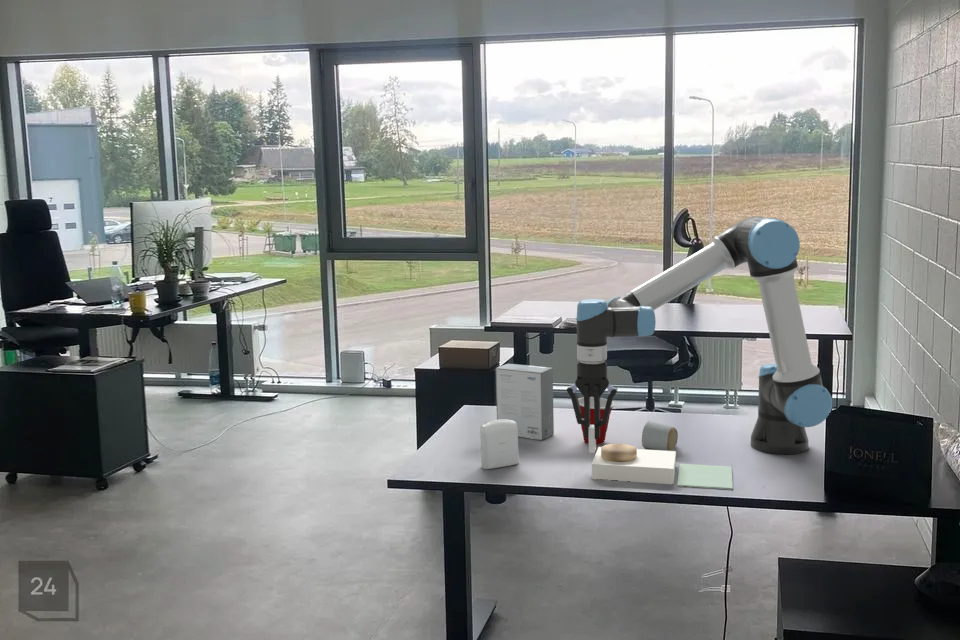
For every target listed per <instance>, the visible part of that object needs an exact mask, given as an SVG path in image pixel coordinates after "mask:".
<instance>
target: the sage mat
mask: <svg viewBox="0 0 960 640" xmlns="http://www.w3.org/2000/svg"><path fill="white" fill-rule="evenodd" d="M678 467H679V468H678V477H677V485H676V486H677V487H683V486H687V487H688V488H698V489H699V488H701V489H703V488H704V489H717V490H729V491H730V490H733V489H734V487H733V485H734V483H733V468H732V466H731V465H729V466H728V465H711V464H710V465H709V464H693V463H679V466H678ZM687 487H686V488H687Z"/></svg>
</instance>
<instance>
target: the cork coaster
mask: <svg viewBox="0 0 960 640" xmlns="http://www.w3.org/2000/svg"><path fill="white" fill-rule="evenodd" d="M600 447H601V457H602V458H603V459H605V460H608V461H613V462H628V461H633V460H635V459H636V458H637V449H638V448H636V446H633V445H631V444H627V443H609V444H605V445H603V446H600Z"/></svg>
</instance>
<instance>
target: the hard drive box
mask: <svg viewBox="0 0 960 640" xmlns="http://www.w3.org/2000/svg"><path fill="white" fill-rule="evenodd" d="M553 372H554V369H553V367H550V366H549V367H548V366H539V365H538V366H536V365H528V364H517V363H505V364H502V365H500V366H498V367H495V393H496V395H495V396H496V397H495V399H496V400H495V401H496V420H500V419H507V420H513V421H514V422H516V424H517V428H518V438H519V437H520V438H525V439H526V438H527V439H530V440H539V441H542V440H545V439H546V438H548V437H550V436H553V435H554V434H555V425H554V424H555V423H554V421H555V420H554V377H553V374H554V373H553Z"/></svg>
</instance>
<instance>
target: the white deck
mask: <svg viewBox="0 0 960 640" xmlns="http://www.w3.org/2000/svg"><path fill="white" fill-rule="evenodd" d="M601 447H602V446H598V447H597V449H596V451H595V452H596V453H595V455H594V457H593V460H592V463H591V480H596V479H608V480H607V481H611V480H618V481H617V482H627V481H630V482H629V483H645V484H646V483H647V484H658V485H659V484H662V485H674V482H675V477H676V476H675V474H676V468H675V467H677V466H676V464H677V463H676V462H677V451H675V450H673V451H663V450H650V449H645V448H643V449H642V448H640V449H639V448H636V449H637V458H636V459H635V460H633V461H628V462H613V461H608V460H605V459H603V458H602V457H601Z"/></svg>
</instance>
